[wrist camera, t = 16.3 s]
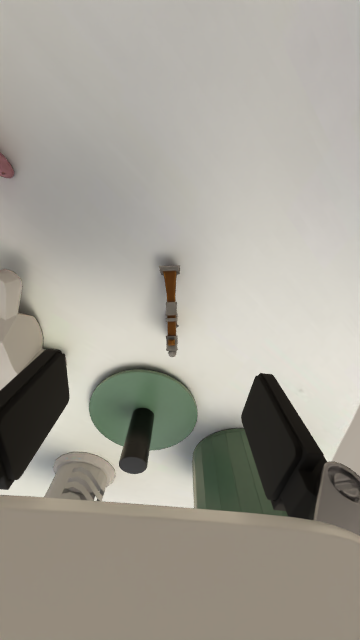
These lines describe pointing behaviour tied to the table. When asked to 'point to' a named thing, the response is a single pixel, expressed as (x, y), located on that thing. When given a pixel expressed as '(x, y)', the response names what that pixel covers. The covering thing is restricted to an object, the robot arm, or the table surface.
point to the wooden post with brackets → (171, 306)
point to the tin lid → (142, 414)
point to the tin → (228, 475)
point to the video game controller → (5, 168)
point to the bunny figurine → (16, 330)
